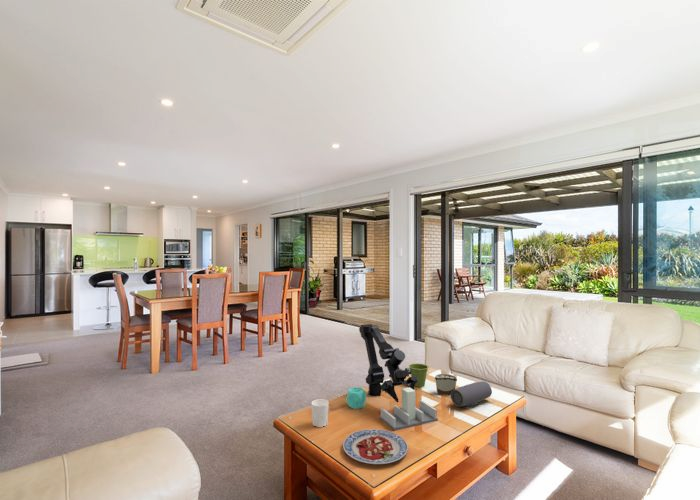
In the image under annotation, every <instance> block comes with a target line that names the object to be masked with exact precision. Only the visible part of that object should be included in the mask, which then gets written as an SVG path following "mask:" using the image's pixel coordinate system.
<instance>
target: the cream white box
mask: <svg viewBox="0 0 700 500" xmlns="http://www.w3.org/2000/svg"><path fill="white" fill-rule="evenodd" d="M407 387H408V386H407ZM407 387H405V388H404V387H403V388H401V409H402V410H403V411H405V412H406V413H407V414H409V415H410V420H412V419H416V408H417V407H416V403H417V402H416V390H415V389H414V390H413V389H412V388H410V387H408V388H407Z"/></svg>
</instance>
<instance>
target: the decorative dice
mask: <svg viewBox="0 0 700 500" xmlns="http://www.w3.org/2000/svg"><path fill="white" fill-rule="evenodd" d="M366 402H367V392H366V390H365V389H364V388H362V387H350V388H349V389H348V391H347V395H346V404H347V405H348V407H350V409H356V410H357V409H362V408H364V407H365V405H366Z"/></svg>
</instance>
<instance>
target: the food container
mask: <svg viewBox="0 0 700 500" xmlns="http://www.w3.org/2000/svg"><path fill="white" fill-rule="evenodd" d="M434 380H435V387H436V396H450V397H451V392H452V391H453V390H454V389H456V386H457V385H456V384H457V381H458V379H457V377H456V376H455V375H453V374H449V373H448V374H447V373H439V374H436V375H435V377H434Z"/></svg>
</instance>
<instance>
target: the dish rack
mask: <svg viewBox="0 0 700 500" xmlns="http://www.w3.org/2000/svg"><path fill="white" fill-rule="evenodd" d="M393 406H394V407H393V411H394V413H390V412H389V411H387V410H386V409H385V408H384V407H381V408H380V415H379V419H380V420H381V421H382V422H383V424H385V425H386V426H388V427H389V428H390V429H392V431H394V432H395V431H398V430H399V431H400V430H403V429H407V428H412V427H416V426H420V425H426V424H429V423H434V422H437V421H439V419H438V417H437V415H438V413H437V412H438V411H437V408H435V407H433V406H431V405H430V404H428V403H427V402H426V401H424V400H422V399H420V400H419V407H416V419H412V420H410V415H409V414H407V413H406V412H405V411H403V410H402V407H401V408H400V407H399V406H398V405H395V404H394V405H393Z"/></svg>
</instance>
